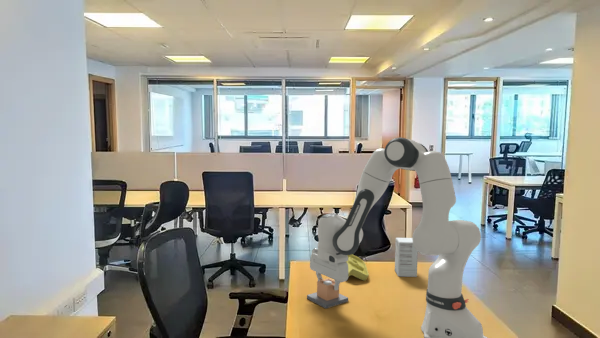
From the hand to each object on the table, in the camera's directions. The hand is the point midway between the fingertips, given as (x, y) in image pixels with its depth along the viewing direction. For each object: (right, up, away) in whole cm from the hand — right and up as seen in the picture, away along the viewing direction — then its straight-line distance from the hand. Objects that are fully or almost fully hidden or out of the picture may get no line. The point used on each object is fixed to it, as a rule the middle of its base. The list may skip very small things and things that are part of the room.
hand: (327, 286), depth 172 cm
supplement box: (+40, -3, +33) cm, 52 cm away
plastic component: (+15, -4, +32) cm, 36 cm away
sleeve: (0, -4, 0) cm, 4 cm away
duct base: (0, -6, +1) cm, 6 cm away
